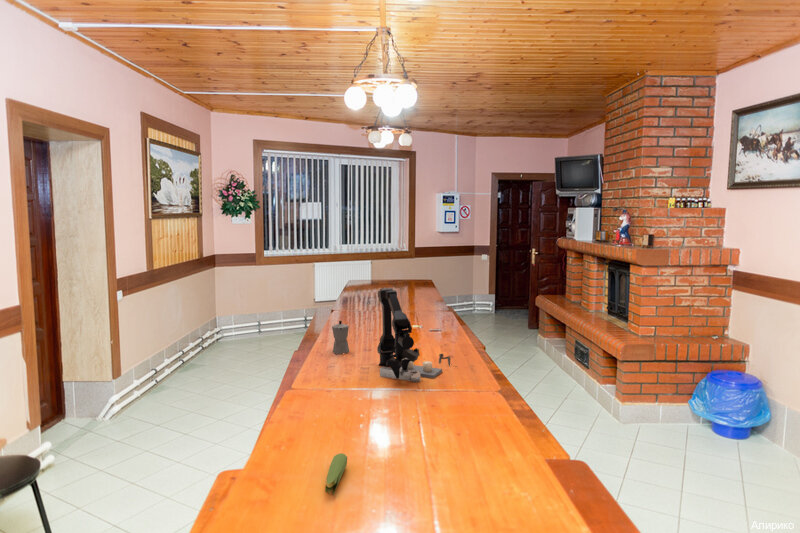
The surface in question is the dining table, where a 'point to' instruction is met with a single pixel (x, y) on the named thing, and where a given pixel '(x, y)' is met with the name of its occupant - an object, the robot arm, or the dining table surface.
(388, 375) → the spanner
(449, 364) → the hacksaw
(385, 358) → the robot arm
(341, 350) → the coffeepot
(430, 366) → the tool rack
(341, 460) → the edible corn
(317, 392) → the dining table surface
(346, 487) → the dining table surface
